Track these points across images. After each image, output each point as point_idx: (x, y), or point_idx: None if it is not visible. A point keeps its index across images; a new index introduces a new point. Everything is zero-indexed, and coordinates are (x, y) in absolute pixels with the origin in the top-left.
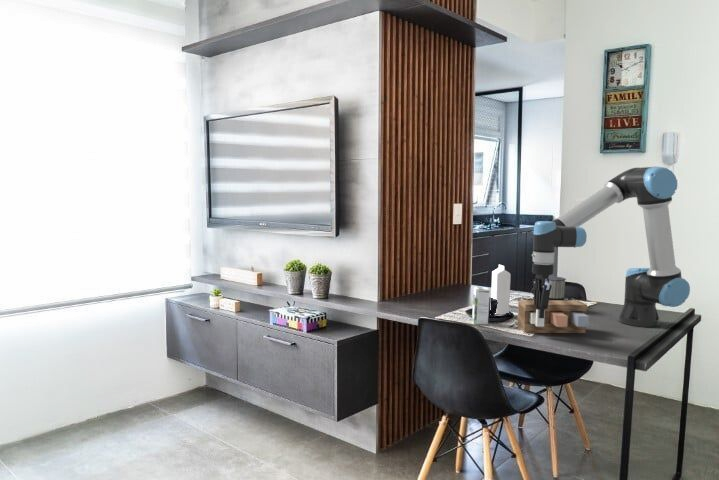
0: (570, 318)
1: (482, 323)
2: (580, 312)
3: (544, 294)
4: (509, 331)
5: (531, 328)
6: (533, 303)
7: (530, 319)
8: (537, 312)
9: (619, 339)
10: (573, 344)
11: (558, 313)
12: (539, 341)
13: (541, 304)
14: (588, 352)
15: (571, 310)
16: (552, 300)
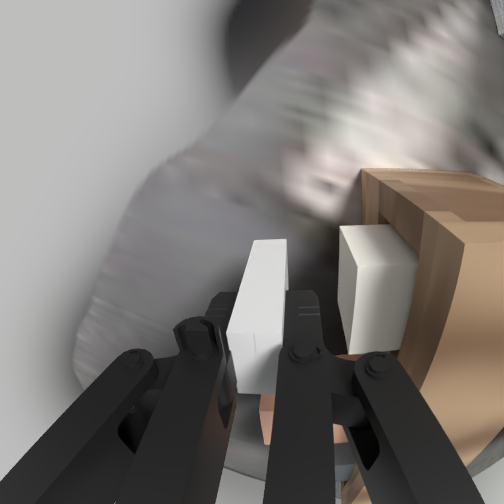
0: None
1: (495, 9)
2: (346, 479)
3: (11, 491)
4: (388, 84)
5: (368, 223)
6: (478, 353)
7: (376, 235)
8: (236, 307)
9: (260, 454)
10: (162, 339)
11: (338, 429)
12: (172, 207)
13: (92, 388)
14: (85, 338)
15: (353, 472)
16: (481, 448)
